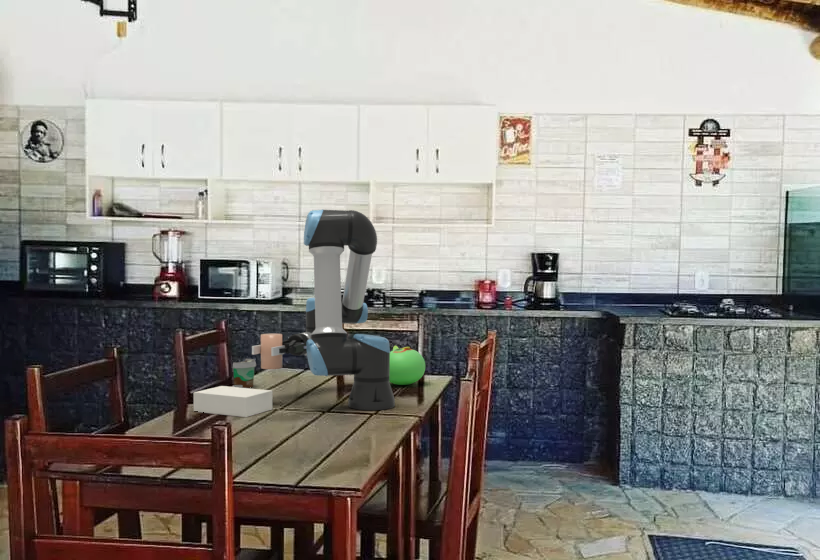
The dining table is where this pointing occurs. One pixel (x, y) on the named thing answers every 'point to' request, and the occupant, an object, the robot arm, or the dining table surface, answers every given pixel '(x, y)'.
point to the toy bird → (405, 366)
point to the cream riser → (233, 401)
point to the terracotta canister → (266, 345)
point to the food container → (244, 373)
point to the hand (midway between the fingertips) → (262, 351)
